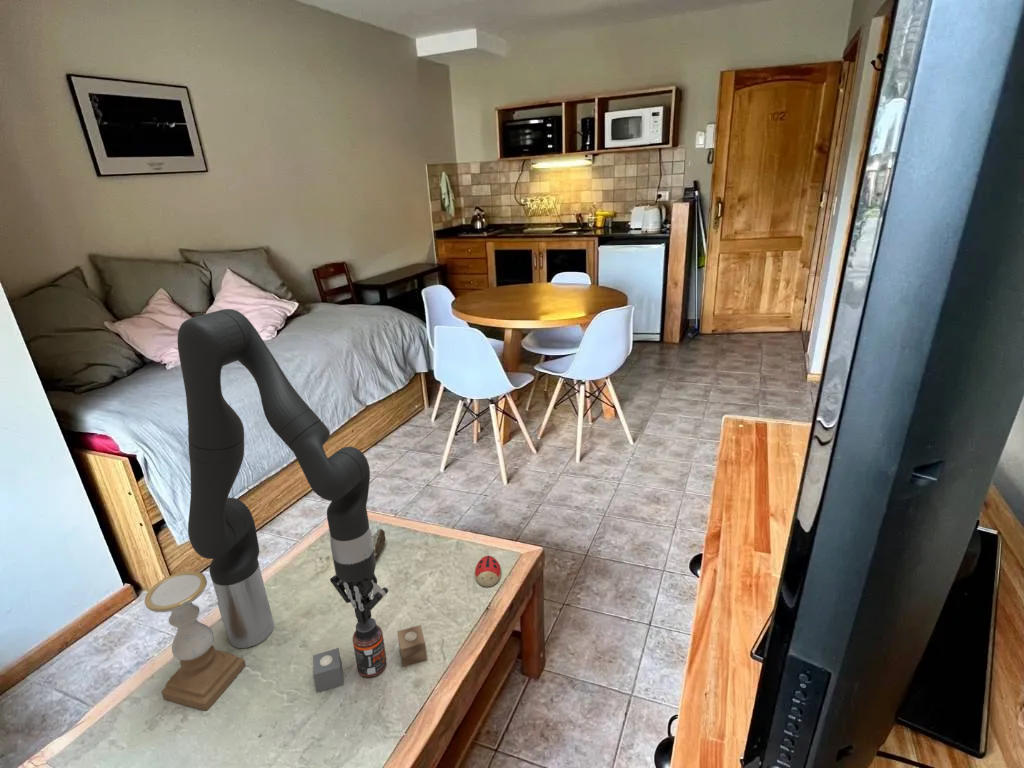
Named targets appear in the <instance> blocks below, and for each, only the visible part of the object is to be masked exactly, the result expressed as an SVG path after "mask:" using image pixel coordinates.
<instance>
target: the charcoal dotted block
mask: <svg viewBox="0 0 1024 768" xmlns="http://www.w3.org/2000/svg"><path fill="white" fill-rule="evenodd" d="M339 648H340V647H336V648H333V649H330V650H326V651H323V652H319V653H315V654H312V676H313V680H314V684H315V689H316V693H317V694H319V693H318V692H320V693H323V692H325V691H326V692H327V691H329V690H332V689H336V688H339V686H340V687H343V686H344V674H343V673H344V672H343V664H342V663H343V662H342V658H341V653H340V649H339ZM342 685H343V686H342ZM322 691H323V692H322Z"/></svg>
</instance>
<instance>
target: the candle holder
mask: <svg viewBox="0 0 1024 768" xmlns="http://www.w3.org/2000/svg"><path fill="white" fill-rule="evenodd" d="M207 583H208V581H207V577H206V575H205V574H203V573H202V572H200V571H197V570H196V571H195V570H186V571H181V572H177V573H173V574H171V575H169V576H166V577H164V578H162V579H161V580H159V581H158V582H157V583H155V584H154V585H153V586H152V587H151V588H150V589H148V592H147V593H146V595H145V597H144V605H145V607H146V608H147V609H148V610H149V611H151V612H155V613H169V612H170V613H171V614H170V616H169V617H168V623H169V625H170V626H173V627H175V628H177V631H176V634H175V636H174V638H173V640H172V644H171V653H172V655H173V657H174V658H176V660H178V661H179V664H180V667H179V668H178V670H177V671H176V672H175V673H174V674H173V675H172V676H170V678H169V679H168V680H167V681H166V683H165V687H164V688H163V689H162V691H161V695H162V698H163V700H165V701H168V702H171V703H176V704H179V705H182V706H186V707H190V708H193V709H196V710H200V711H209V709H210V708H211V707H212V706H213V705H214V704H215V703H216V702H217V701H218V700H219V699H220V697H221V696H222V695H223V694H224V692H225V691H226V690H227V689H228V688H229V687H230V685H231V684H232V683H233V682H234V681H235V680H236V679H237V677H238V676H239V675H240V674H241V673H242V671H243V670H244V669H243V667H244V666H245V664H246V662H245V659H244V658H242V657H239V656H237V655H235V654H233V653H229V652H227V651H222V650H219V649H215V646H214V645H213V644H214V641H215V633H214V631H213V630H212V629H211V627H210V626H209V625H208V624H205V623H202V622H200V621H199V620H198V617H199V614H200V611H201V610H200V607H199V606H198V605H196V604H194V603H193V602H194V601H196V600H197V599H198V598H199V597H200V596H201V595H202V594H203V592H205V590H206V588H207ZM245 667H246V666H245ZM242 669H243V670H242ZM241 670H242V671H241ZM240 672H241V673H240ZM239 673H240V674H239ZM238 674H239V675H238ZM237 675H238V676H237ZM234 679H235V680H234Z"/></svg>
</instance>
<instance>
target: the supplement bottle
mask: <svg viewBox="0 0 1024 768" xmlns="http://www.w3.org/2000/svg"><path fill="white" fill-rule="evenodd" d="M352 644H353V645H352V646H353V650H354V651H353V652H354V656H355V662H356V668H357V672H358V673H359V675H360V676H363V677H365V678H372V677H376V676H378V675H379V674H381V673H382V672H383V671H384V670H385V668H386V666H387V655H386V648H385V641H384V634H383V630H382V628H381V626H380V625H378V624H377V621H376V619H375V618H373V617H371V618H370V619H369V620H368V621H367V622H366V623H365V624H362V623H359V622H358V621H357V623H356V624H355V631H354V633H353V635H352Z"/></svg>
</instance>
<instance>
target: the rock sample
mask: <svg viewBox="0 0 1024 768" xmlns="http://www.w3.org/2000/svg"><path fill="white" fill-rule="evenodd" d="M386 538H387V537H386V532H385V530H384V529H382V528H379V529H378V530H377V531H376V532H375V533H374V534H373V535H372V539H373V546H374V553H375V558H376V556H377V555H378V554H379V552H380V550H381V549H382V547H383V546H384V545H385V542H386Z"/></svg>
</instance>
